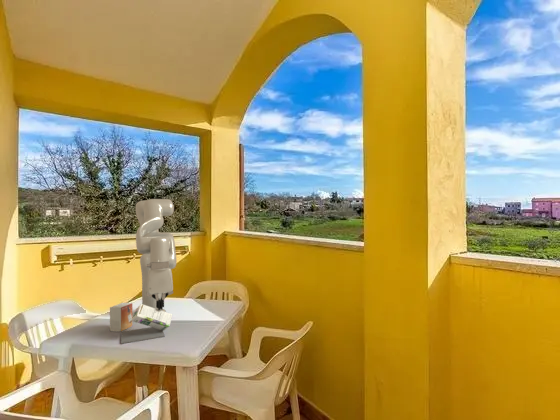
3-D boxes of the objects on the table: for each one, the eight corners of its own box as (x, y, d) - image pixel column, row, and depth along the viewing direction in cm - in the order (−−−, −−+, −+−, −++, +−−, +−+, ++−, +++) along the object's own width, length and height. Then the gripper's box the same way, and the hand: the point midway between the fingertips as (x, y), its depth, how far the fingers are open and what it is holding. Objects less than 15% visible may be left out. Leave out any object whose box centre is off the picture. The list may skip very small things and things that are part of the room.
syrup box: (163, 331, 138) (130, 321, 131) (167, 318, 142) (135, 308, 136) (169, 326, 135) (136, 316, 128) (172, 313, 139) (140, 303, 132)
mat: (121, 332, 137) (121, 331, 137) (161, 326, 144) (161, 325, 144) (121, 344, 124) (121, 342, 124) (164, 336, 131) (164, 335, 131)
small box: (120, 332, 138) (120, 307, 138) (109, 331, 139) (109, 307, 139) (132, 326, 146) (132, 302, 146) (122, 325, 147) (122, 302, 147)
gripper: (141, 268, 131) (141, 313, 130) (179, 265, 137) (179, 308, 136) (140, 266, 138) (140, 309, 137) (176, 263, 144) (177, 305, 143)
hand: (160, 309), depth 137 cm, fingers closed
